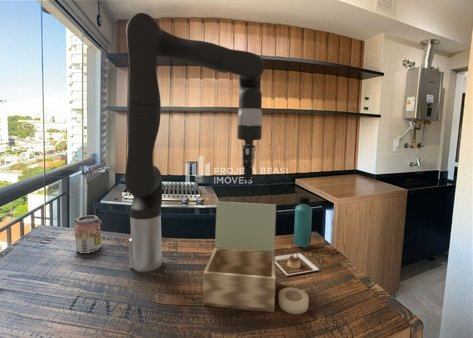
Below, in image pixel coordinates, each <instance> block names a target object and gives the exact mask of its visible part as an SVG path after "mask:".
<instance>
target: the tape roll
mask: <svg viewBox="0 0 473 338" xmlns="http://www.w3.org/2000/svg"><path fill="white" fill-rule="evenodd" d="M309 299H310V298H309V295H308V294H307V292H305V291H304V290H302V289H300V288H297V287H290V286H289V287H285V288H284V287H283V288H282V289H281V290H280V291H279V292H278V306H279V308H280V309H281V310H283V311H284V312H286V313H289V314H292V315H301V314H304V313H306V312H307V311H308V309H309Z"/></svg>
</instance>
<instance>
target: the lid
mask: <svg viewBox="0 0 473 338" xmlns="http://www.w3.org/2000/svg"><path fill="white" fill-rule="evenodd" d="M276 213H277V204H274V203H273V204H272V203H252V202H234V201H233V202H232V201H216V213H215V233H214V234H215V240H214V249H215V248H216V249H229V250H243V251H257V252H271V253H275V247H276V246H275V245H276V244H275V242H276V221H277V220H276V217H277V215H276Z"/></svg>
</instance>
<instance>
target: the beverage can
mask: <svg viewBox="0 0 473 338" xmlns="http://www.w3.org/2000/svg"><path fill="white" fill-rule="evenodd" d="M74 223H76V224H75V225H74V235H75V236H74V237H75V248H76V249H75V250H76V252H77V251H78V252H77V253H79V252H92V251H96V250H97V249H99V248H100V247H102V235H101V232H102V231H101V224H102V223H103V221H102V219H100V218H99V217H98V216H96V215H94V214H93V215H82V216H80V217H78V218H74ZM100 249H101V248H100ZM100 249H99V250H100ZM96 252H97V251H96Z"/></svg>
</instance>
